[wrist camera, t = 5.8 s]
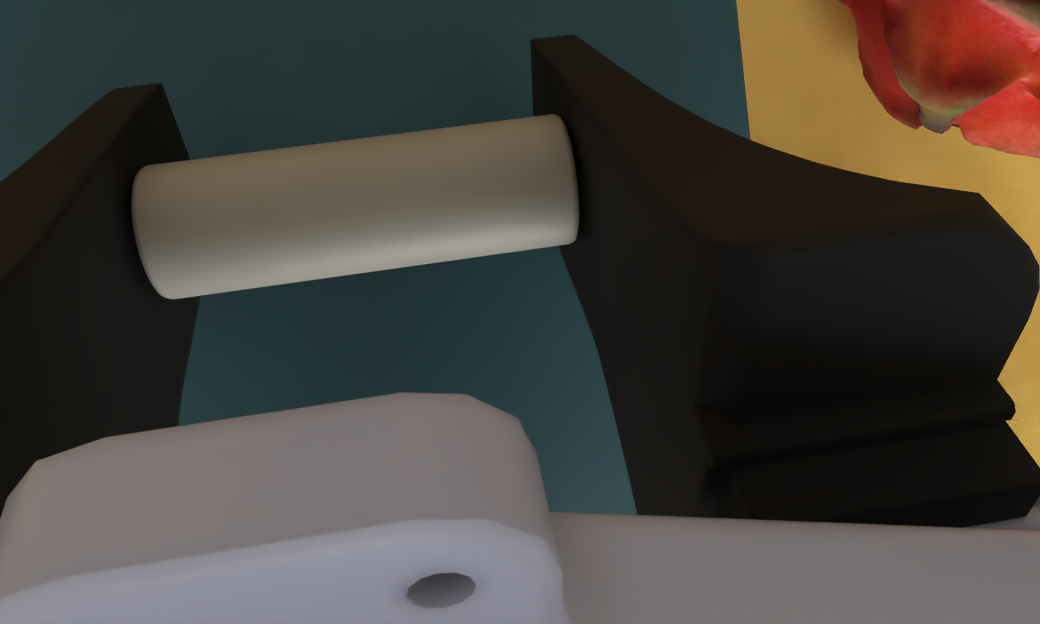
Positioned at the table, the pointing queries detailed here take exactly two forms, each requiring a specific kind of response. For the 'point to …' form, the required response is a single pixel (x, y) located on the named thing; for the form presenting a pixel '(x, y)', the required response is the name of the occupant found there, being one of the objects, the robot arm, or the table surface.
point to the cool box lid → (371, 193)
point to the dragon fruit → (956, 66)
